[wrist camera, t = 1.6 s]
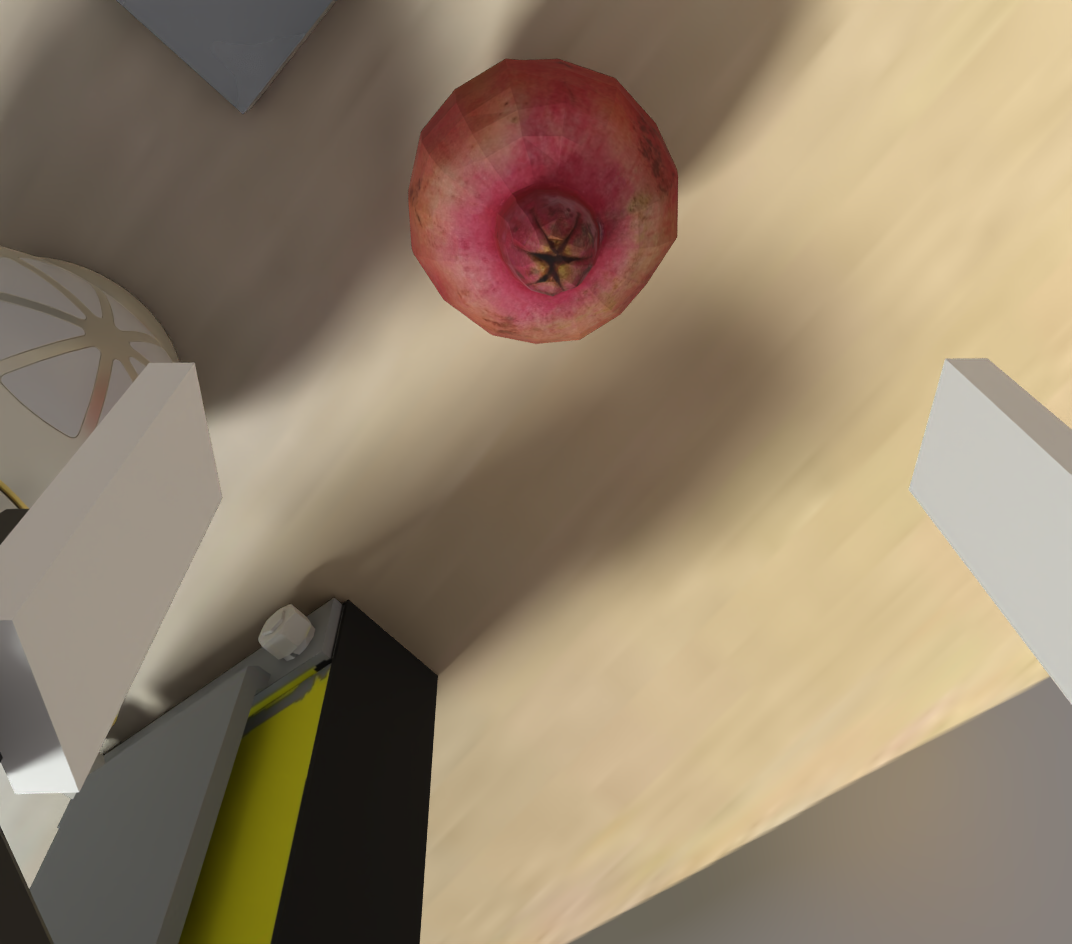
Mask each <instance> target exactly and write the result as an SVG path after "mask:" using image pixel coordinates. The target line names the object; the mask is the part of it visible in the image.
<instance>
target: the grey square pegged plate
mask: <svg viewBox="0 0 1072 944" xmlns="http://www.w3.org/2000/svg"><path fill="white" fill-rule="evenodd" d="M116 1H118V2H119V3H120V4H121V5H122V6H123V7H124V8H125V9H126V10H128V11H129V12H130V13H131V14H132V15H133V16H134V17H135V18H136V19H138V20H139V21H140V22H141V23H142V24H143V25H144V26H145V27H146V28H148V29H149V30H150V31H151V32H152V33H153V34H154V35H155V36H156V37H158V38H159V39H160V40H161V41H162V42H163V43H164V44H165V45H166V46H168V47H169V48H170V49H171V50H172V51H173V52H174V53H175V54H176V55H178V56H179V57H180V58H181V59H182V60H183V61H184V62H185V63H187V64H188V65H189V66H190V67H191V68H192V69H193V70H194V71H195V72H197V73H198V74H199V75H200V76H201V77H202V78H203V79H204V80H205V81H207V82H208V83H209V84H210V85H211V86H212V87H213V88H214V89H215V90H217V91H218V92H219V93H220V94H221V95H222V96H223V97H224V98H225V99H227V100H228V101H229V102H230V103H231V104H232V105H233V106H234V107H235V108H237V109H238V110H239V111H240V112H241V113H242V114H244V113H245V112H247V111H248V110H250V109H251V108H252V107H253V106H254V104H255V103H256V102H257V101H258V99H259V98H260V97H261V96H262V94H263V93H264V92H265V90H266V89H267V88H268V87H269V85H270V84H271V83H272V82H273V80H274V79H275V78H276V77H277V75H278V74H279V73H280V71H281V70H282V69H283V68H284V66H285V65H286V64H287V63H288V61H289V60H290V59H291V58H292V56H293V55H294V54H295V52H296V51H297V50H298V49H299V47H300V46H301V45H302V44H303V42H304V41H305V40H306V39H307V37H308V36H309V35H310V33H311V32H312V31H313V30H314V28H315V27H316V26H317V25H318V23H319V22H320V21H321V20H322V18H323V17H324V16H325V14H326V13H327V12H328V11H329V9H330V8H331V7H332V6H333V4H334V3H335V2H336V1H337V0H116Z"/></svg>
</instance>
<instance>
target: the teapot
mask: <svg viewBox="0 0 1072 944" xmlns="http://www.w3.org/2000/svg"><path fill="white" fill-rule="evenodd" d="M149 363H180V362H179V359H178V357H177V354H176V352H175V349H174V347H173V345H172V343H171V341H170V339H169V338H168V336H167V334H166V332H165V331H164V329H163V328H162V326H161V325H160V324H159V322H158V321H157V320H156V318H155V317H154V316H153V315H152V314H151V313H150V311H149V310H148V309H147V308H146V307H145V306H144V305H143V304H142V303H141V302H140V301H139V300H137V299H136V298H135V297H134V296H133V295H131V294H130V293H129V292H128V291H126V290H125V289H124V288H122V287H121V286H119V285H118V284H116V283H115V282H113V281H111V280H110V279H108V278H106V277H104V276H102V275H101V274H98V273H96V272H94V271H92V270H90V269H87V268H84V267H82V266H79V265H76V264H73V263H70V262H66V261H62V260H58V259H52V258H46V257H35V256H32V255H29V254H26V253H23V252H20V251H17V250H13V249H10V248H6V247H2V246H0V513H1V512H2V511H4V510H6V509H30V508H31V507H32V506H33V504H34V503H35V502H36V501H37V499H38V498H39V497H40V496H41V495H42V493H43V492H44V491H45V490H46V488H47V487H48V486H49V485H50V484H51V482H52V481H53V480H54V479H55V477H56V476H57V475H58V474H59V473H60V471H61V470H62V469H63V468H64V466H65V465H66V464H67V463H68V462H69V460H70V459H71V458H72V457H73V455H74V454H75V453H76V452H77V450H78V449H79V448H80V447H81V446H82V444H83V443H84V442H85V441H86V439H87V438H88V437H89V436H90V435H91V433H92V432H93V431H94V430H95V428H96V427H97V426H98V425H99V424H100V422H101V421H102V420H103V419H104V417H105V416H106V415H107V414H108V413H109V411H110V410H111V409H112V408H113V406H114V405H115V404H116V403H117V402H118V400H119V399H120V398H121V397H122V395H123V394H124V393H125V392H126V390H127V389H128V388H129V387H130V386H131V384H132V383H133V382H134V381H135V379H136V378H137V377H138V376H139V375H140V373H141V372H142V371H143V370H144V368H145V367H146V366H147V365H148V364H149ZM119 712H120V710H119ZM119 712H118V714H117V716H116V718H115V720H114V722H113V724H112V726H113V725H114V724H115V722H116V720H117V717H118V715H119ZM112 726H111V727H112Z"/></svg>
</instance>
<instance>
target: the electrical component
mask: <svg viewBox="0 0 1072 944" xmlns="http://www.w3.org/2000/svg"><path fill="white" fill-rule="evenodd" d="M258 641H259V642H260V644H261V646H262V647H261V648H260V649H258V650H257V651H256V652H254V653H253V654H251V655H250V656H248V657H247V658H245V659H244V660H242V661H241V662H240V663H238V664H237V665H235V666H234V667H232V668H231V669H229V670H228V671H226V672H225V673H224V674H222V675H221V676H219V677H218V678H216V679H215V680H213V681H212V682H210V683H209V684H207V685H206V686H205V687H203V688H202V689H200V690H199V691H197V692H196V693H194V694H193V695H191V696H190V697H189V698H187V699H186V700H184V701H183V702H181V703H180V704H178V705H177V706H175V707H174V708H173V709H171V710H170V711H168V712H167V713H165V714H164V715H162V716H161V717H159V718H158V719H156V720H155V721H154V722H152V723H151V724H149V725H148V726H146V727H145V728H143V729H142V730H140V731H139V732H138V733H136V734H135V735H133V736H132V737H130V738H129V739H127V740H126V741H124V742H123V743H122V744H120V745H119V746H117V747H116V748H114V749H113V750H111V751H110V752H108V753H107V754H105V755H104V756H103V755H102V754H100V753H98V755H97V757H96V759H95V761H94V763H93V765H92V767H91V769H90V771H89V773H88V775H87V777H86V780H85V782H84V784H83V786H82V788H81V790H80V792H76V793H62V794H64V795H66V796H67V797H69V798H71V800H70V802H69V804H68V806H67V808H66V810H65V812H64V814H63V817H62V819H61V821H60V823H59V825H58V827H57V828H59V829H58V832H57V834H56V836H55V838H54V840H53V842H52V844H51V846H50V848H49V850H48V852H47V854H46V856H45V858H44V860H43V862H42V865H41V867H40V869H39V871H38V873H37V875H36V877H35V879H34V881H33V883H32V885H31V887H30V889H29V890H30V892H31V894H32V897H33V899H34V901H35V903H36V905H37V907H38V910H39V912H40V914H41V916H42V918H43V921H44V923H45V925H46V927H47V929H48V931H49V934H50V936H51V938H52V940H53V942H54V944H420V930H421V916H422V901H423V886H424V871H425V857H426V842H427V827H428V813H429V798H430V783H431V768H432V754H433V739H434V724H435V710H436V695H437V680H438V676H437V675H436V674H435V673H434V672H433V671H431V670H430V669H429V668H428V667H427V666H426V665H424V664H423V663H422V662H421V661H420V660H418V659H417V658H416V657H415V656H414V655H413V654H411V653H410V652H409V651H408V650H407V649H406V648H404V647H403V646H402V645H401V644H400V643H399V642H397V641H396V640H395V639H394V638H393V637H391V636H390V635H389V634H388V633H387V632H386V631H384V630H383V629H382V628H381V627H380V626H379V625H377V624H376V623H375V622H374V621H373V620H372V619H370V618H369V617H368V616H367V615H366V614H364V613H363V612H362V611H361V610H360V609H359V608H357V607H356V606H355V605H354V604H353V603H352V602H350V601H349V600H347V601H346V602H345V603H343V604H341V603H340V602H339V601H338V600H336V599H335V598H333V599H331V600H330V601H328V602H327V603H326V604H324V605H323V606H321V607H320V608H318V609H317V610H315V611H314V612H312V613H311V614H309V615H308V616H307V617H306V616H305V615H304V614H303V613H302V612H300V611H299V610H298V609H297V608H295V607H294V606H293V605H292V604H289V605H287V606H285V607H283V608H281V609H279V610H278V611H276V612H275V613H274V614H273V615H272V616H271V617H270V618H269V619H267V620H266V623H265V624H264V626H263V628H262V630H261V633H260V635H259V637H258Z"/></svg>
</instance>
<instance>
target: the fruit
mask: <svg viewBox="0 0 1072 944" xmlns="http://www.w3.org/2000/svg"><path fill="white" fill-rule="evenodd" d="M408 202H409V217H410V231H411V245H412V251H413V253H414V255H415V256H416V258H417V259H418V261H419V263H420V264H421V266H422V267H423V269H424V270H425V272H426V273H427V275H428V276H429V278H430V279H431V281H432V282H433V284H434V285H435V287H436V289H437V290H438V292H439V293H440V295H441V296H442V298H443V299H444V300H445V301H446V302H448V303H449V304H450V305H452V306H453V307H454V308H456V309H457V310H458V311H460V312H461V313H463V314H464V315H465V316H467V317H468V318H469V319H471V320H472V321H473V322H475V323H476V324H478V325H479V326H480V327H482V328H483V329H484V330H486V331H487V332H488V333H490V334H492V335H495V336H500V337H505V338H510V339H515V340H520V341H525V342H530V343H535V344H539V343H549V342H560V341H570V340H580V339H581V338H583V337H585V336H586V335H588V334H589V333H591V332H593V331H594V330H596V329H598V328H599V327H601V326H602V325H604V324H606V323H607V322H609V321H610V320H612V319H614V318H615V317H617V316H618V315H620V314H621V313H622V312H623V311H624V310H625V308H626V307H627V306H628V305H629V304H630V303H631V301H632V300H633V299H634V298H635V297H636V296H637V294H638V293H639V292H640V291H641V290H642V289H643V288H644V286H645V285H646V284H647V282H648V281H649V279H650V278H651V276H652V275H653V273H654V272H655V270H656V269H657V267H658V266H659V264H660V263H661V261H662V260H663V258H664V256H665V255H666V253H667V252H668V250H669V249H670V247H671V246H672V244H673V243H674V241H675V240H676V238H677V218H678V173H677V168H676V166H675V164H674V162H673V160H672V158H671V155H670V153H669V151H668V149H667V147H666V144H665V142H664V140H663V138H662V136H661V134H660V131H659V129H658V127H657V125H656V123H655V122H654V121H653V120H652V119H651V118H650V116H649V115H648V114H647V113H646V112H645V111H644V110H643V109H642V107H641V106H640V105H639V104H638V103H637V102H636V101H635V100H634V99H633V97H632V96H631V95H630V94H629V93H628V92H627V91H626V90H625V88H624V87H623V86H622V85H621V84H620V83H619V82H618V81H617V80H616V78H613V77H610V76H607V75H604V74H602V73H599V72H596V71H593V70H590V69H587V68H584V67H581V66H578V65H575V64H572V63H569V62H566V61H563V60H560V59H540V60H515V59H504V60H503V61H501V62H499V63H498V64H496V65H494V66H493V67H491V68H489V69H488V70H486V71H485V72H483V73H481V74H480V75H478V76H476V77H475V78H473V79H471V80H470V81H468V82H466V83H465V84H463V85H461V86H460V87H458V88H456V89H455V90H454V91H453V92H452V94H451V95H450V96H449V97H448V99H447V100H446V101H445V102H444V104H443V105H442V106H441V107H440V109H439V110H438V111H437V112H436V114H435V115H434V116H433V117H432V119H431V120H430V121H429V122H428V123H427V125H426V126H425V127H424V128H423V130H422V131H421V134H420V139H419V143H418V148H417V152H416V157H415V162H414V166H413V171H412V176H411V180H410V185H409V190H408Z"/></svg>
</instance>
